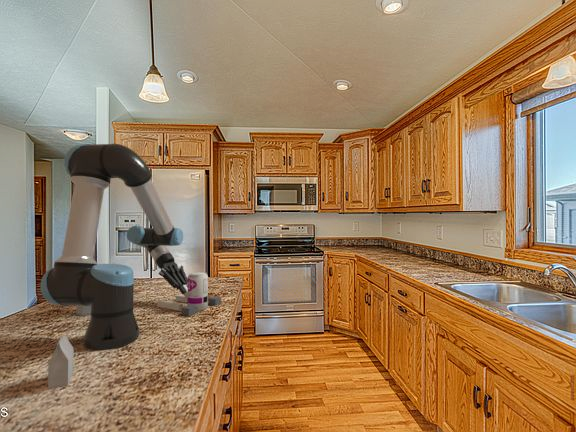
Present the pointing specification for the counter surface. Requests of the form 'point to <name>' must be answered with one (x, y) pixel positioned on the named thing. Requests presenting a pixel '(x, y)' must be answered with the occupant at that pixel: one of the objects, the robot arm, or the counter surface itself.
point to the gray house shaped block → (61, 364)
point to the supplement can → (198, 290)
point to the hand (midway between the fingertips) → (190, 298)
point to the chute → (188, 309)
